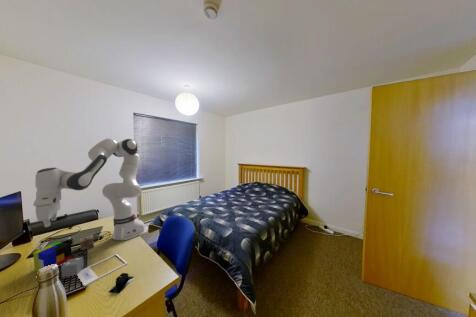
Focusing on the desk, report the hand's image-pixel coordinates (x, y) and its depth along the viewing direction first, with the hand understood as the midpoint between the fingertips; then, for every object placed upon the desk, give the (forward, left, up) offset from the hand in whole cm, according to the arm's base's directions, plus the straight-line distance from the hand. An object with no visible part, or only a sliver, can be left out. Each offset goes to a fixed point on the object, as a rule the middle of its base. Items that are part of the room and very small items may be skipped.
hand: (50, 223), depth 89 cm
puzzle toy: (0, 0, -24) cm, 24 cm away
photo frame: (-22, +19, -24) cm, 38 cm away
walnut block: (-12, -12, -24) cm, 29 cm away
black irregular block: (-31, +38, -24) cm, 55 cm away
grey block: (-10, +14, -24) cm, 29 cm away
